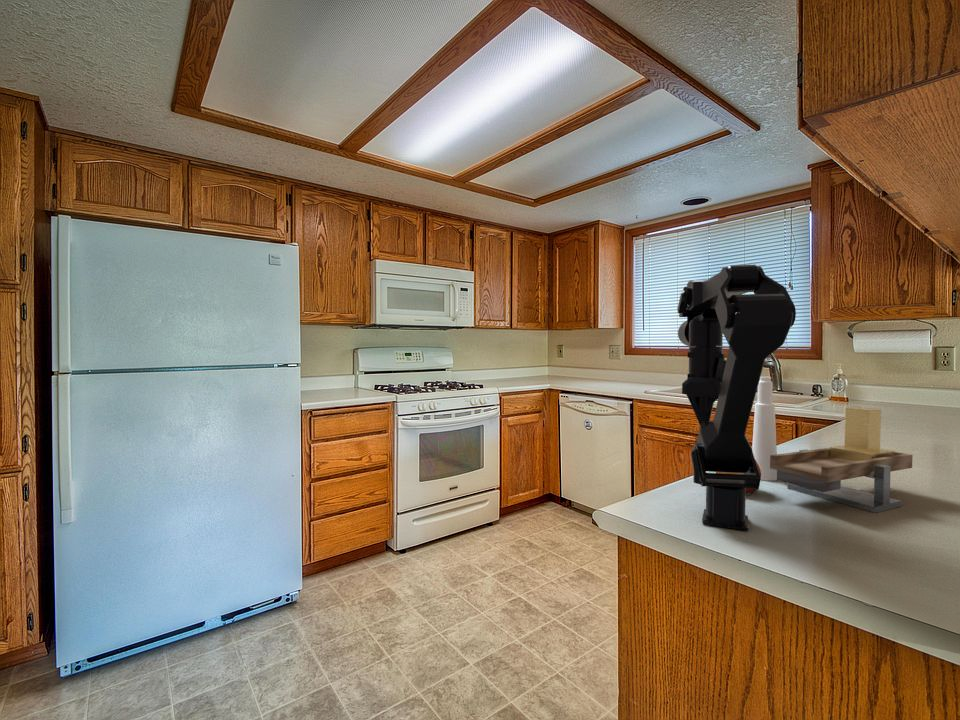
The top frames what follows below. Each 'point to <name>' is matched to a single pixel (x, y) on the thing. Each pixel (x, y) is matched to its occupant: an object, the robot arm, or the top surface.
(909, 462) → the beam
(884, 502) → the beam stand
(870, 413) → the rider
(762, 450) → the cosmetic bottle
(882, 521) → the top surface
